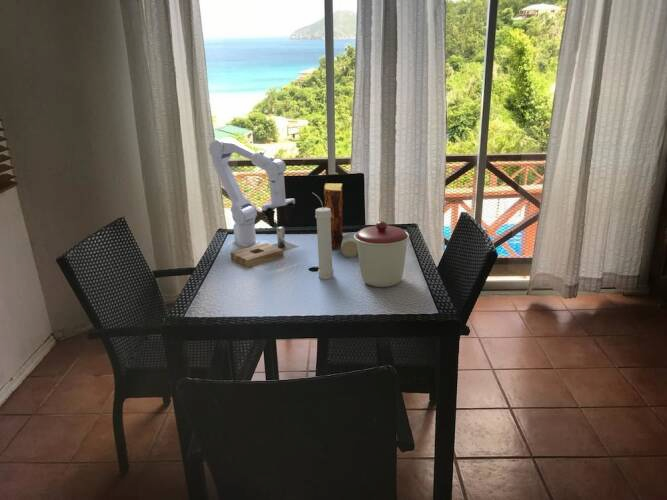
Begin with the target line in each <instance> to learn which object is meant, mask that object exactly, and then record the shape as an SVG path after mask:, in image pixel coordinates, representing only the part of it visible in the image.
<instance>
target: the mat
mask: <svg viewBox="0 0 667 500" xmlns="http://www.w3.org/2000/svg"><path fill="white" fill-rule="evenodd" d="M271 245H272V246H275V247H277V248H279V247H278V242H277V243H273V244H271ZM299 247H300V246H298V245H296V244H294V243H291V242H288V241H286V240H285V247H284V248H280V249H282V250H283V252H285V251H288V250H289V251H290V250H292V249H295V248H299Z"/></svg>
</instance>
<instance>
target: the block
mask: <svg viewBox="0 0 667 500" xmlns="http://www.w3.org/2000/svg"><path fill="white" fill-rule="evenodd" d="M283 257H284V251H283V250H282V249H280V248H277V247H275V246H272V244H270V243H267V242H263V243H259V244H257V245H256V244H255V245H251V246H248V247H246V248H245V247H244V248H242V249H238V250H234V251H231V252H230V258H231V261H234V262H235V263H237V264H238V265H242V266H243V267H245V268H247V269H248V268H252V267H253V266H256V265H259V264H261V263H265V262H269V261H272V260H276V259H279V258H283Z"/></svg>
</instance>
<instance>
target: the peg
mask: <svg viewBox="0 0 667 500" xmlns="http://www.w3.org/2000/svg"><path fill="white" fill-rule="evenodd" d="M276 239H277V243H278V247H279V248H284V247H285V241H286V237H285V227H284V226H277V227H276Z"/></svg>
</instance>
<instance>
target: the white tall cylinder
mask: <svg viewBox="0 0 667 500" xmlns="http://www.w3.org/2000/svg"><path fill="white" fill-rule="evenodd" d="M311 193H312V194H313V195H315V196H316V197H317V199H318V200H319V201H320V203H321V206H322V207H318V208H316V209H314V210H315V215H314V219H315V218H316V230H317V231H316V235H317V251H318V253H317V254H318V269H317V273H318V278H319V279H321V280H330V279H333V277H334V276H335V275H334V273H335V270H334V267H333V253H332V252H333V249H332V244H331V219H330V218H331V217H332V214H331V209H330V208H325V207H324V206H323V201H322V200H321V198H320V196H318V195H317V194H315V193H314V192H311Z"/></svg>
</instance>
